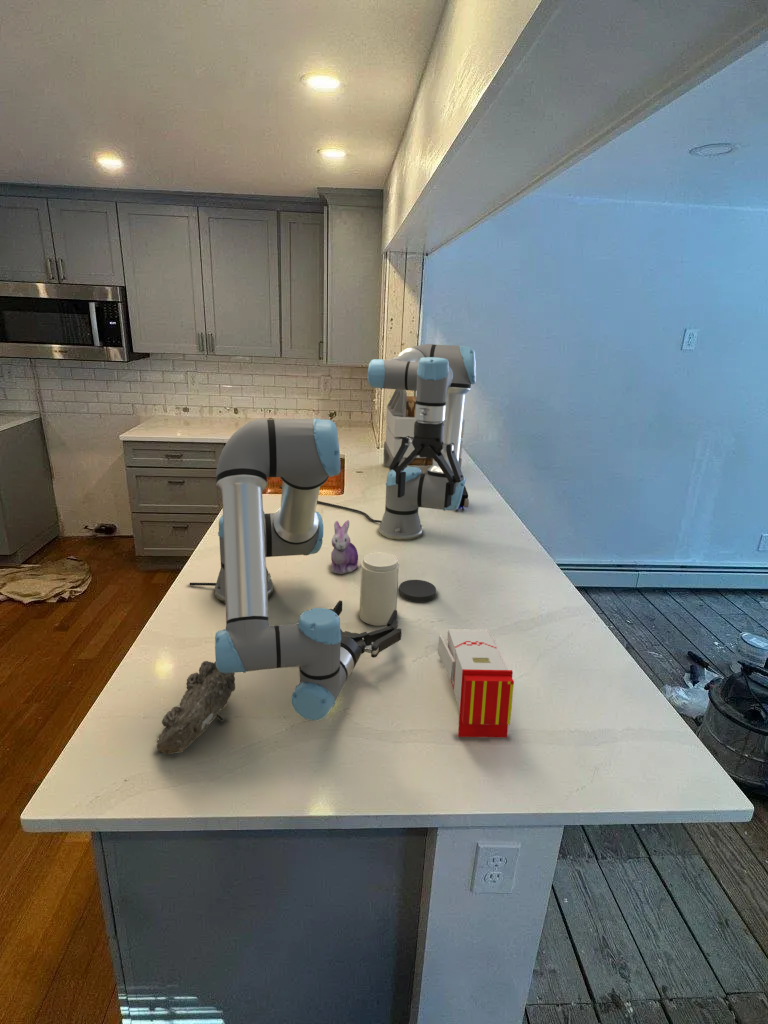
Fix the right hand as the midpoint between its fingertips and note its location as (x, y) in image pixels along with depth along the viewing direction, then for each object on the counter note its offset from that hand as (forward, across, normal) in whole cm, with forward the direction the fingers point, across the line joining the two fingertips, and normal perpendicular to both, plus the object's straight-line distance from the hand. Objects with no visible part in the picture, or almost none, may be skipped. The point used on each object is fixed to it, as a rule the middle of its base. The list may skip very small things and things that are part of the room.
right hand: (423, 501), depth 150 cm
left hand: (+20, -1, -26) cm, 33 cm away
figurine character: (+27, -19, +76) cm, 83 cm away
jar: (+27, -3, -17) cm, 32 cm away
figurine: (+27, -26, +2) cm, 37 cm away
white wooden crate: (+27, -54, +111) cm, 126 cm away
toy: (+27, +29, -33) cm, 52 cm away
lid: (+26, 0, 0) cm, 26 cm away
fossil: (+27, -12, -68) cm, 74 cm away
